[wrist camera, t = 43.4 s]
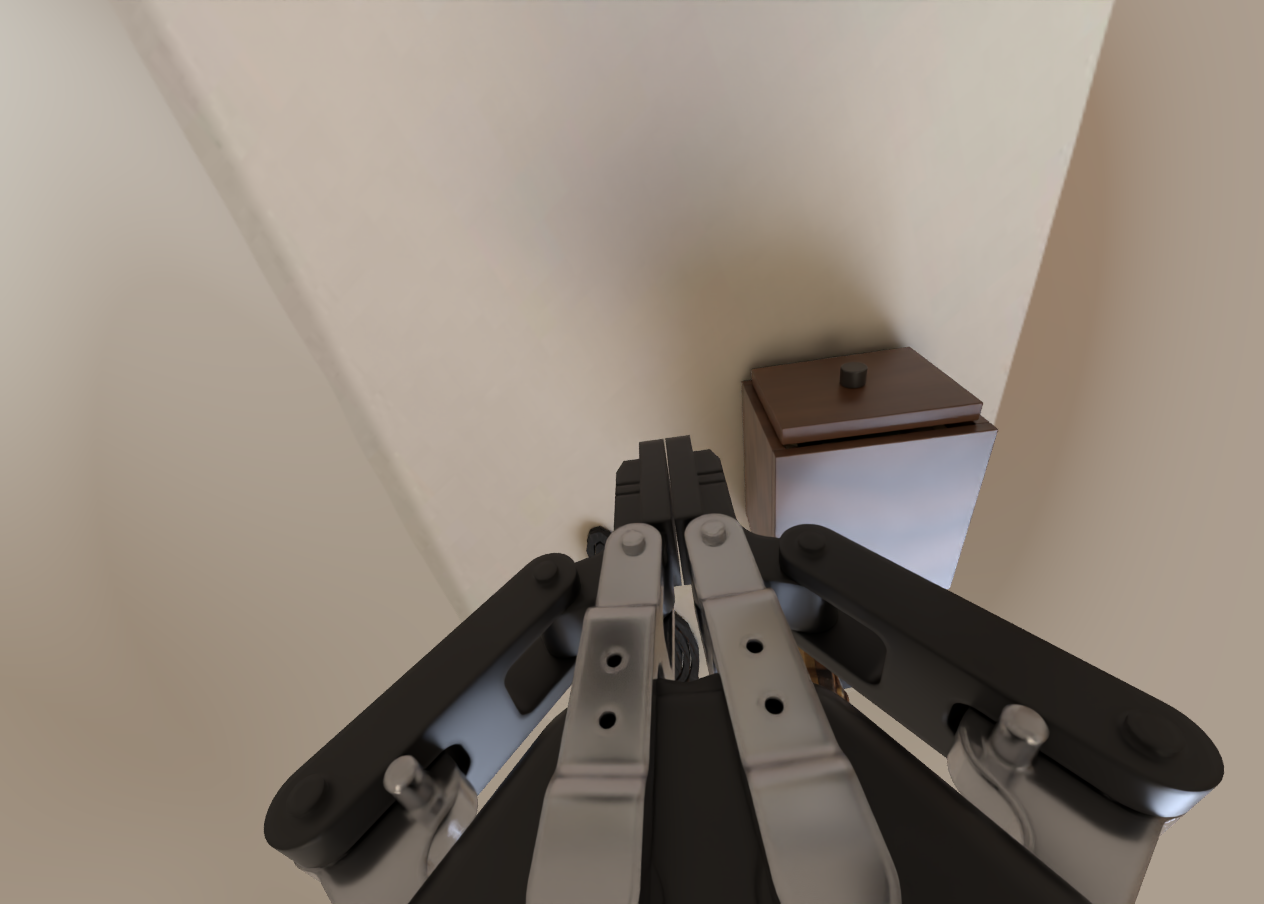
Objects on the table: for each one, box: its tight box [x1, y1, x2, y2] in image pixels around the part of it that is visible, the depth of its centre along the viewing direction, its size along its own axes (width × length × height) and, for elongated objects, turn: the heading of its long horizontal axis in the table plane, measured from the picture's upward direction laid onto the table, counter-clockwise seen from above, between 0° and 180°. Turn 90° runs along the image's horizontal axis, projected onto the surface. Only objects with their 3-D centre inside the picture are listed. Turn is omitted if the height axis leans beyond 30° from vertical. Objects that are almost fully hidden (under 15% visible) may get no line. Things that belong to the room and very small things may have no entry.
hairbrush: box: [586, 526, 699, 682], centre depth 51 cm, size 8×4×25 cm
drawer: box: [751, 347, 983, 449], centre depth 35 cm, size 14×11×9 cm
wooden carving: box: [798, 647, 849, 702], centre depth 51 cm, size 16×5×10 cm, turn 16°
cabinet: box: [742, 380, 998, 589], centre depth 36 cm, size 14×13×11 cm
